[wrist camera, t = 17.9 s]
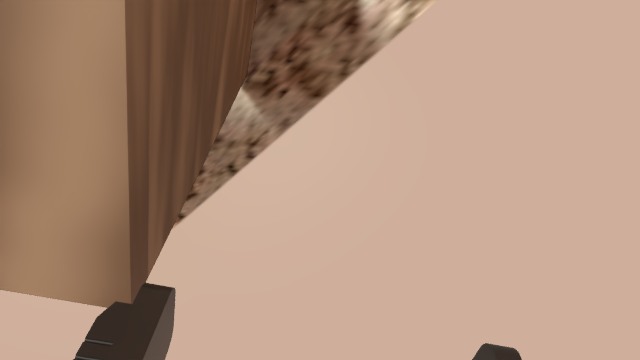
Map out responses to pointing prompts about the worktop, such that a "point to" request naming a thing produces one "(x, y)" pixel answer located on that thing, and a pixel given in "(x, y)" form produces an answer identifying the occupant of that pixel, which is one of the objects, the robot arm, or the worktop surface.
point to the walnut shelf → (107, 134)
